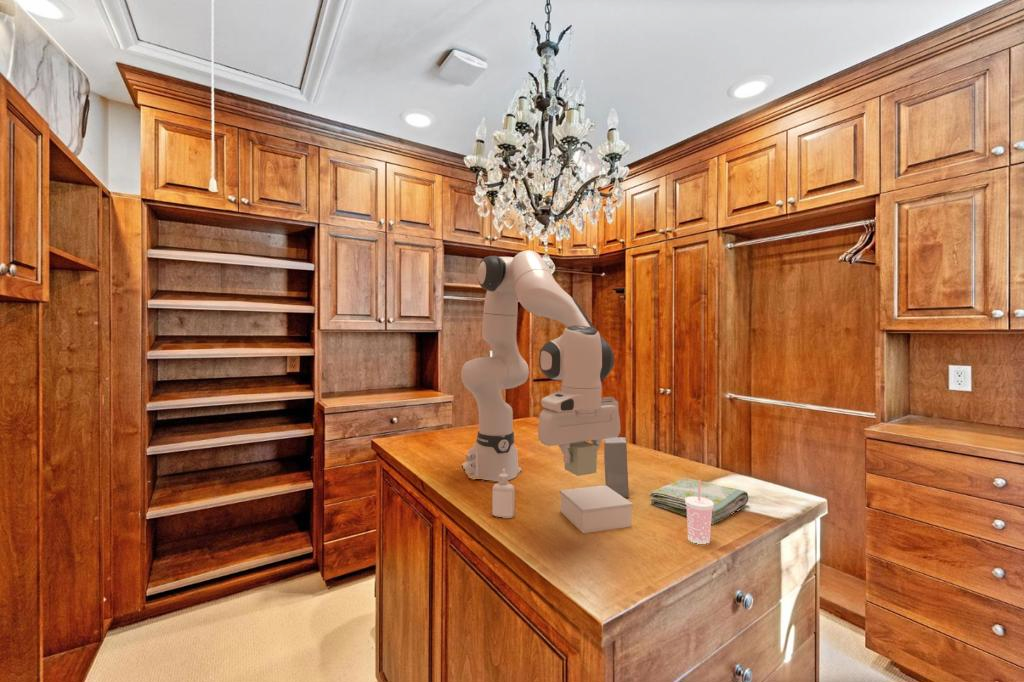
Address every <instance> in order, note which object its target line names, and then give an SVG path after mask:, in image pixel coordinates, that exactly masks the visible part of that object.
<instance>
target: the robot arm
mask: <svg viewBox="0 0 1024 682" xmlns="http://www.w3.org/2000/svg"><path fill="white" fill-rule="evenodd" d="M477 281H478V284H479V285H480V287H481V289H482V290H485V291H486V293H485V297H484V304H483V314H482V328H481V330H482V331H481V336H482V338H483V340H484V341H485V342H486V343H487V344H489V346H490V349H491V355H492V356H481V357H476V358H472V359H471V360H467V361H466V362H465V363H464V364H463V365H462V368H461V372H460V378H461V382H462V385H463V386H464V388H465V389H466V390H468V391H469V392H470V393H471V394H472V396H473V398H474V399H475V403H476V404H477V411H478V431H477V435H476V443H475V444H474V445H473V446H472V447H471V448H470V449H469V451H468V453H466V455H465V458H466V461H464V462H463V463H461V466H462V465H463V467H464V469H465V470H466V472H467V474H468V476H469V477H472V478H481V479H486V480H494V481H493V482H499V474H501V473H502V469H505V473H506V474H508V481H510V480H514V479H515V478H517V476H518V475H519V474H520V473H521V472H522V467H520V466H519V459H518V457H519V456H518V455H519V454H518V448H517V446H516V445H515V444H514V443H515V432H514V431H513V426H514V425H513V423H514V421H513V419H514V416H513V415H514V411H513V407H512V406H511V405H510V404H509V403H507V402H506V401H505V400H504V397H503V394H502V390H509V389H515V388H517V387H518V386H521V385H524V384H525V383H526V382H527V380H528V378H529V375H530V369H529V365H528V363H527V361H526V360H525V359H524V358H523V356H522V355H521V353H520V351H519V346H518V342H517V326H518V314H519V313H518V312H519V311H518V310H519V309H518V307H519V304H520V305H521V306H522V307H523V309H525V311H526V312H528V313H531V314H533V315H536V316H538V317H544V318H548V319H551V320H555V321H557V322H560V323H561V324H563V325H565V326H566V327H565V328H564V330H563V333H562V334H561V335H560V336H559V337H556V338H554V339H553V340H548V341H547V342H546V343H544V345H543V346H542V347H541V349H540V351H539V357H538V361H539V362H538V363H539V369H540V371H541V372H542V373H543V375H544V376H545V377H546V378H548V379H551V380H554V381H555V380H556V381H558V380H559V381H560V380H561V387H560V389H559V390H557V391H555V392H553V393H551V394H549V395H547V396H544V397H542V398H541V402H540V404H541V405H540V406H541V407H542V408H544V409H542V410H541V412H540V414H539V418H538V429H537V438H538V441H539V442H540V443H541V444H542V445H545V446H547V447H553V446H558V447H559V449H560V451H561V453H562V454H563V456H562V457H563V462H564V464H565V463H573V455H572V454H570V453H569V451H568V449H567V448H570V443H576V442H584V441H586V442H591V443H592V444H593V445H596V446H597V453H598V451H599V450H600V447H601V445H602V441H603V440H604V439H606V438H614V437H620V436H619V435H620V433H621V420H620V412H619V401H618V400H617V399H616V398H614V396H607V397H604V396H603V397H602V395H603V394H602V391H603V390H602V389H603V388H602V380H604V379H605V378H607V376H608V375H609V374H610V373H611V372H612V370H613V368H614V366H615V363H616V362H615V361H616V360H615V354H614V350H613V349H612V347H611V346H610V344H609V343H608V342H607V341H606V339H604V338H603V337H602V336H601V334H600V332H599V330H597V329H596V328H595V326H594V325H593V323H592V322H591V320H590V319H589V317H588V315H587V314H586V313H585V311H584V310H583V308H582V307H581V305H580V304H579V302H578V301H577V300H576V299H575V298H574V297H573V296H572V295H570V294H568V292H566V291H565V290H564V289H563V288H562V287H561V286H560V285H559V284H558V282H557V281H556V280H555V278H554V276H553V274H552V272H551V270H550V267H549V266H548V264H547V263H546V261H545V260H544V259H543V257H542V256H541V254H539V253H538V252H536V251H534V250H529V249H528V250H523V251H520V252H518V253H517V254H516V255H515V256H513V257H512V256H497V255H489V256H486V257H484V258H483V259H482V260H480V262H479V265H478V267H477ZM518 301H519V302H518ZM518 303H519V304H518ZM464 469H463V470H464ZM520 471H521V472H520ZM517 474H518V475H517ZM468 476H467V477H468Z"/></svg>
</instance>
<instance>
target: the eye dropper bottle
mask: <svg viewBox="0 0 1024 682" xmlns="http://www.w3.org/2000/svg"><path fill="white" fill-rule="evenodd" d="M491 493H492V498H491V499H492V501H491V502H492V503H491V508H492V509H491V511H492V512H491V514H492V516H493V515H494V516H498V517H503V518H502V519H512V518H514V516H515V506H516V505H515V500H516V499H515V495H516V494H515V486H514V485H513V484H511V483H510V482H509V480H508V474H506V473H505V469H502V473H501V474H499V481H498V482H497V483H495V484H494V485H493V486H492V491H491ZM494 516H493V517H494Z"/></svg>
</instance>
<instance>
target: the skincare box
mask: <svg viewBox="0 0 1024 682" xmlns="http://www.w3.org/2000/svg"><path fill="white" fill-rule="evenodd" d="M603 440H604V441H603V442H604V449H603V451H604V452H603V457H604V459H603V461H604V481H605V485H606V486H608V487H609V488H611V489H612V490H613V491H615V492H616V493H618V494H619V495H621V496H622V497H624V498H625V499H627V498H629V497H630V494H629V493H630V492H629V476H628V474H629V471H628V450H627V449H628V445H627V444H628V443H627V439H626V437H623V436H618V437H614V438H606V439H603Z"/></svg>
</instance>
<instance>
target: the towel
mask: <svg viewBox="0 0 1024 682" xmlns="http://www.w3.org/2000/svg"><path fill="white" fill-rule="evenodd" d="M748 495H749V494H748V492H747V491H745V490H741V489H739V488H735V487H729V486H724V485H721V484H716V483H710V482H707V481H703V480H702V481H701V492H700V497H703V498H707V499H709V500H711V501H712V502H713V503H714V506H713V507H714V508H713V509H712V519H711V524H712V525H714V523H715V524H717V523H719V522H718V521H720V520H721V521H723V520H724V519H723V518H725V517H726V518H728V517H729V516H728V515H730V514H731V513H733V512H735V511H737V510H739V509H741V510H742V509H744V508H745V506H746V505H747V504H748V502H749V496H748ZM649 497H650V498H651V500H650V501H651V504H652V505H653V506H655V507H658V508H661V509H665V510H668V511H671V512H674V513H677V514H679V515H682V516H686V517H687V508H686V504H685V498H687V497H698V480H697V479H692V478H685V477H684V478H681V479H679V480H677V481H675V482H671V483H669V484H667V485H664V486H661V487H659V488H658V489H655V490H653V491H652V492H651V493H650V494H649ZM727 516H728V517H727ZM730 516H731V515H730ZM726 518H725V519H726ZM722 519H723V520H722ZM721 521H720V522H721ZM716 522H717V523H716Z"/></svg>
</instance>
